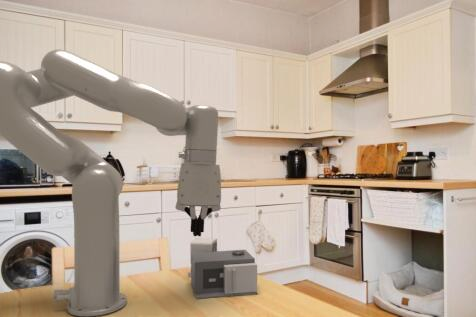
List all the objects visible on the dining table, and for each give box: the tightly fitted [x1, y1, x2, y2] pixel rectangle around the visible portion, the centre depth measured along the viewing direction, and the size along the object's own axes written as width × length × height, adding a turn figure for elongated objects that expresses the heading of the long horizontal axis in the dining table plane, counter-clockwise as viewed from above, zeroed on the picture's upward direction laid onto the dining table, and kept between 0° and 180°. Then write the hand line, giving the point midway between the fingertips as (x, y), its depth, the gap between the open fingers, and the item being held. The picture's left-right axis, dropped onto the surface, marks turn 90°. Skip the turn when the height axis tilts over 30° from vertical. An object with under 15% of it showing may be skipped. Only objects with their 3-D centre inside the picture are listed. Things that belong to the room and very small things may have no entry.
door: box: [224, 262, 258, 294], centre depth 91 cm, size 8×2×6 cm, turn 102°
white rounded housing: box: [187, 237, 218, 278], centre depth 107 cm, size 6×7×10 cm
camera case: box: [190, 249, 258, 300], centre depth 95 cm, size 15×12×9 cm
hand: (196, 235), depth 89 cm, fingers closed
